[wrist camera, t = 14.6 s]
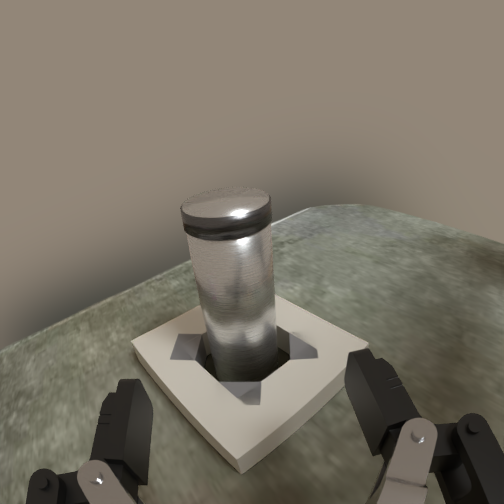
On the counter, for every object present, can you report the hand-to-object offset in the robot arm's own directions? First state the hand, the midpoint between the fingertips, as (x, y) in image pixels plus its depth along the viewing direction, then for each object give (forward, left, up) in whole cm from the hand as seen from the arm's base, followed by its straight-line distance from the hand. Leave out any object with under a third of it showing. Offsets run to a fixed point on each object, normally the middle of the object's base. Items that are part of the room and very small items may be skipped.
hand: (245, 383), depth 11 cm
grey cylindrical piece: (-6, -8, -10) cm, 14 cm away
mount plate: (-6, -8, -10) cm, 14 cm away
